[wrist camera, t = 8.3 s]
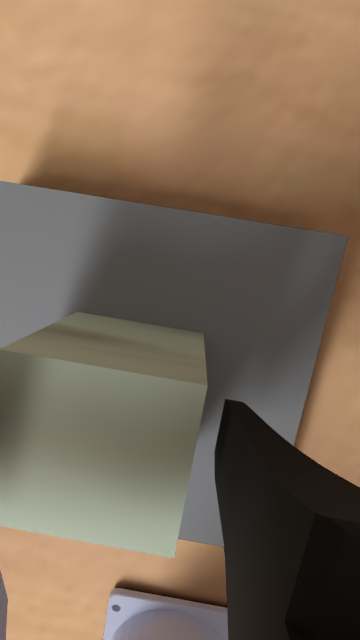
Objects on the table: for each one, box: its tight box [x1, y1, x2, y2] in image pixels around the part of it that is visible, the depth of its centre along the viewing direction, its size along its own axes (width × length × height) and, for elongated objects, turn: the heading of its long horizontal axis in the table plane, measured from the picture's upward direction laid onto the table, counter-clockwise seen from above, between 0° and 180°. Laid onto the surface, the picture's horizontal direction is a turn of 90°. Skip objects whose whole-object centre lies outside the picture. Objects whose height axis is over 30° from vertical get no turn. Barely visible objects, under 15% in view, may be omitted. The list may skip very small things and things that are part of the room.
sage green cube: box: [0, 312, 208, 558], centre depth 10 cm, size 5×5×5 cm
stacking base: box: [0, 181, 348, 547], centre depth 14 cm, size 14×14×3 cm
